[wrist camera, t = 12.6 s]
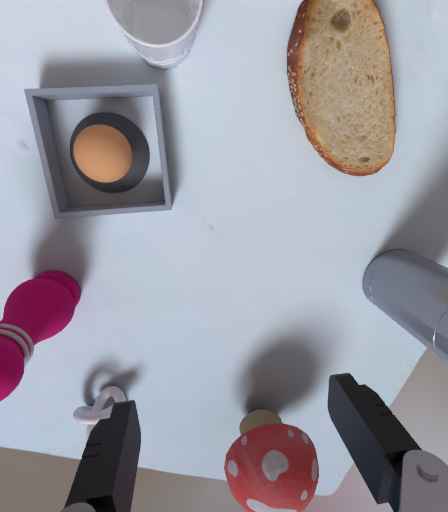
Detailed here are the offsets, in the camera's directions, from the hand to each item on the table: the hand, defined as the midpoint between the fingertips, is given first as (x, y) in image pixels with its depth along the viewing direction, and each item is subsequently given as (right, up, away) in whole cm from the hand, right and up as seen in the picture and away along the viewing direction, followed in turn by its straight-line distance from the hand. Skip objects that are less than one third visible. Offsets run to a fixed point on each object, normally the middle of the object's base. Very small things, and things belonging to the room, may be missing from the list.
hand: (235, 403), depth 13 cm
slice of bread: (+14, +26, +26) cm, 39 cm away
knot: (-18, -16, +36) cm, 43 cm away
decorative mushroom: (+5, -21, +40) cm, 45 cm away
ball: (-14, +17, +21) cm, 30 cm away
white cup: (-7, +30, +21) cm, 38 cm away
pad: (-14, +18, +24) cm, 33 cm away
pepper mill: (-23, +1, +29) cm, 37 cm away
